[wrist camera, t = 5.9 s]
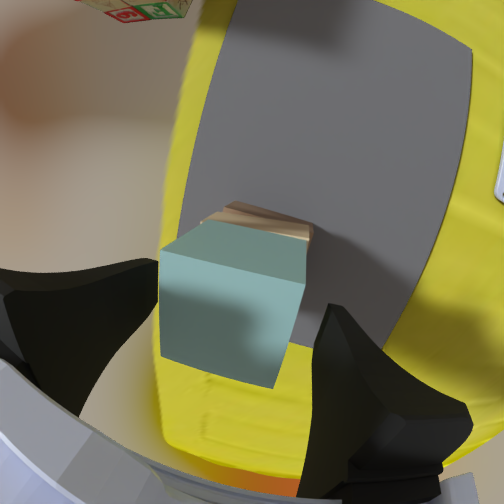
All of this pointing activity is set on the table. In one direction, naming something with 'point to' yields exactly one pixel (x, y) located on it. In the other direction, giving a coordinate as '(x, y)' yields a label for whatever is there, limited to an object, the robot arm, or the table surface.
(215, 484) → the robot arm
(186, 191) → the rubber mat
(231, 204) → the walnut slab
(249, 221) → the oak slab
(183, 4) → the stack of blocks
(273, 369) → the teal cube
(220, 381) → the table surface
